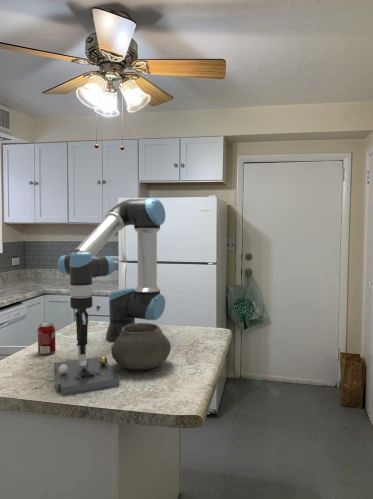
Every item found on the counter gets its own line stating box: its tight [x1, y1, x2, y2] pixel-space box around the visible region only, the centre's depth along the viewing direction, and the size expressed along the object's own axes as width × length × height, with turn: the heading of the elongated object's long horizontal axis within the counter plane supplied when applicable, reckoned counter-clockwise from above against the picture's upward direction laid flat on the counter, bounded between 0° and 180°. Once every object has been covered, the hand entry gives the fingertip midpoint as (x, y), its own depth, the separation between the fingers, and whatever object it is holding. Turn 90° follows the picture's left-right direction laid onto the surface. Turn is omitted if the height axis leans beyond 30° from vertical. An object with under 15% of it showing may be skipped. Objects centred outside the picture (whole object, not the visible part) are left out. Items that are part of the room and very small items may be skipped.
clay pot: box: [110, 322, 172, 371], centre depth 143 cm, size 22×21×15 cm
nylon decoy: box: [59, 364, 68, 374], centre depth 130 cm, size 3×3×3 cm
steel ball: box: [79, 360, 89, 369], centre depth 134 cm, size 3×3×3 cm
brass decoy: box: [99, 355, 108, 365], centre depth 139 cm, size 3×3×3 cm
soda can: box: [37, 322, 56, 356], centre depth 159 cm, size 7×7×12 cm
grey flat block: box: [53, 356, 121, 397], centre depth 133 cm, size 24×20×2 cm
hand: (82, 362), depth 136 cm, fingers closed
